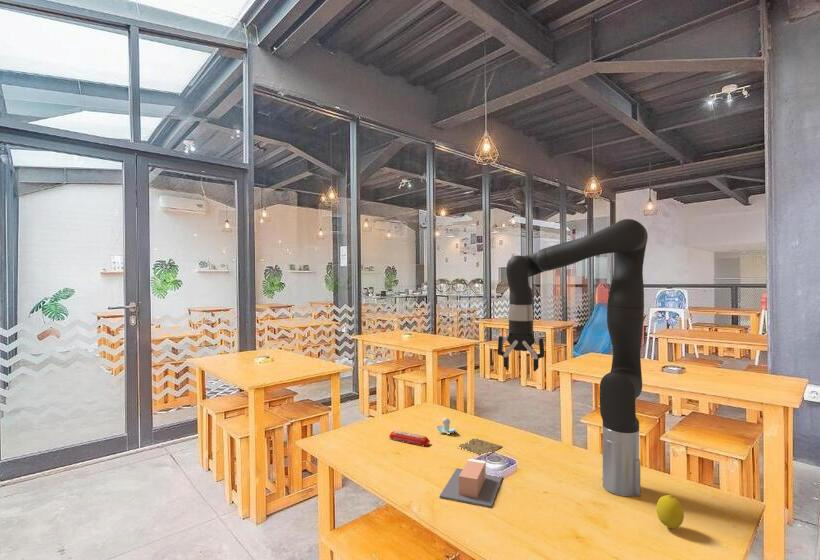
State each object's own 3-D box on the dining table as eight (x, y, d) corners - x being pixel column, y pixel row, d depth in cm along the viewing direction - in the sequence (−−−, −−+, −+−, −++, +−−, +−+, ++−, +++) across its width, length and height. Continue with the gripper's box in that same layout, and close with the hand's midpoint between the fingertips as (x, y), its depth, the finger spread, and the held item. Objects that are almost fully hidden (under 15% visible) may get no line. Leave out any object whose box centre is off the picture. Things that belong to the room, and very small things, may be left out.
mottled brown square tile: (504, 447, 150) (504, 444, 150) (485, 458, 141) (485, 455, 141) (475, 439, 158) (475, 436, 158) (455, 449, 149) (455, 446, 149)
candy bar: (387, 439, 157) (387, 431, 157) (393, 436, 160) (393, 428, 160) (426, 448, 149) (426, 439, 149) (431, 444, 153) (431, 436, 153)
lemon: (673, 521, 104) (673, 489, 104) (689, 535, 98) (689, 500, 98) (651, 522, 104) (651, 489, 104) (665, 536, 98) (665, 501, 98)
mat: (502, 477, 127) (502, 475, 127) (491, 507, 110) (491, 505, 110) (456, 469, 132) (456, 468, 132) (439, 497, 115) (439, 495, 115)
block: (458, 476, 116) (469, 458, 127) (458, 494, 116) (469, 475, 127) (476, 479, 114) (485, 461, 125) (477, 497, 114) (485, 478, 125)
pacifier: (441, 429, 168) (435, 433, 163) (441, 413, 168) (435, 417, 163) (459, 432, 165) (453, 437, 159) (459, 416, 165) (453, 420, 160)
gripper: (545, 318, 136) (545, 369, 137) (500, 316, 142) (500, 365, 142) (543, 320, 129) (543, 374, 130) (496, 319, 135) (496, 370, 135)
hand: (520, 369), depth 136 cm, fingers open, 8 cm apart
